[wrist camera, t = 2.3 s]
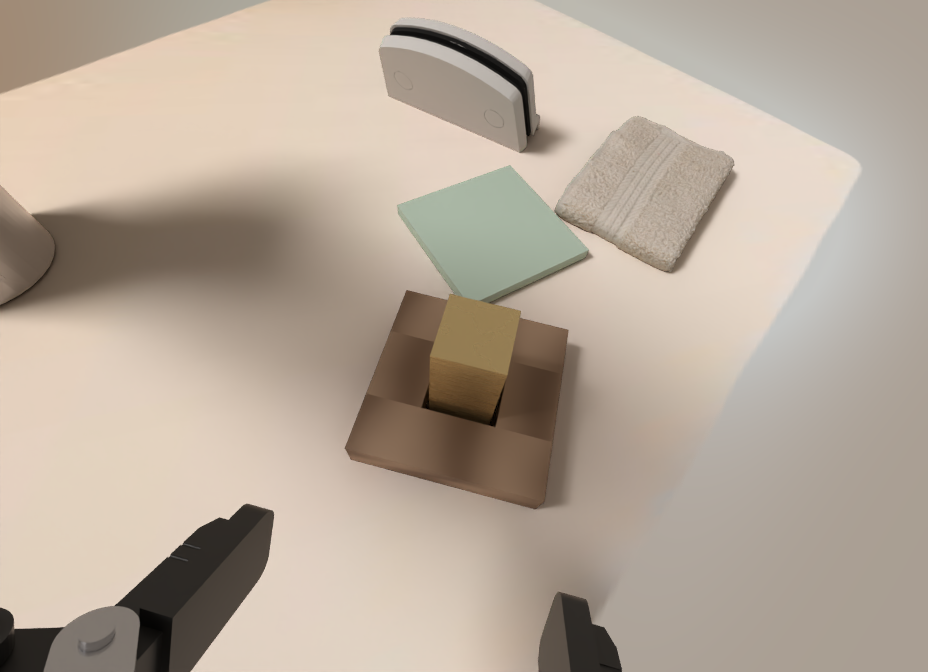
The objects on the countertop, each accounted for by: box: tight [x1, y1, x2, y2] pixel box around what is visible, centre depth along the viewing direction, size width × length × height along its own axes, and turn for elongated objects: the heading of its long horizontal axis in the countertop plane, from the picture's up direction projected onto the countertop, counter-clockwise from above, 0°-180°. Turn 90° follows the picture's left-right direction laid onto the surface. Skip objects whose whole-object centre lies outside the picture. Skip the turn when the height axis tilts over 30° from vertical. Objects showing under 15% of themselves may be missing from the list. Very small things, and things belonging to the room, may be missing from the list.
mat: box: [397, 165, 589, 303], centre depth 38 cm, size 12×12×1 cm
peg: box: [429, 294, 521, 425], centre depth 27 cm, size 4×4×9 cm
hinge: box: [379, 18, 540, 153], centre depth 44 cm, size 17×5×10 cm, turn 60°
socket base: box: [345, 290, 568, 509], centre depth 30 cm, size 12×12×2 cm
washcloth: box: [554, 116, 734, 272], centre depth 42 cm, size 12×18×3 cm, turn 146°
